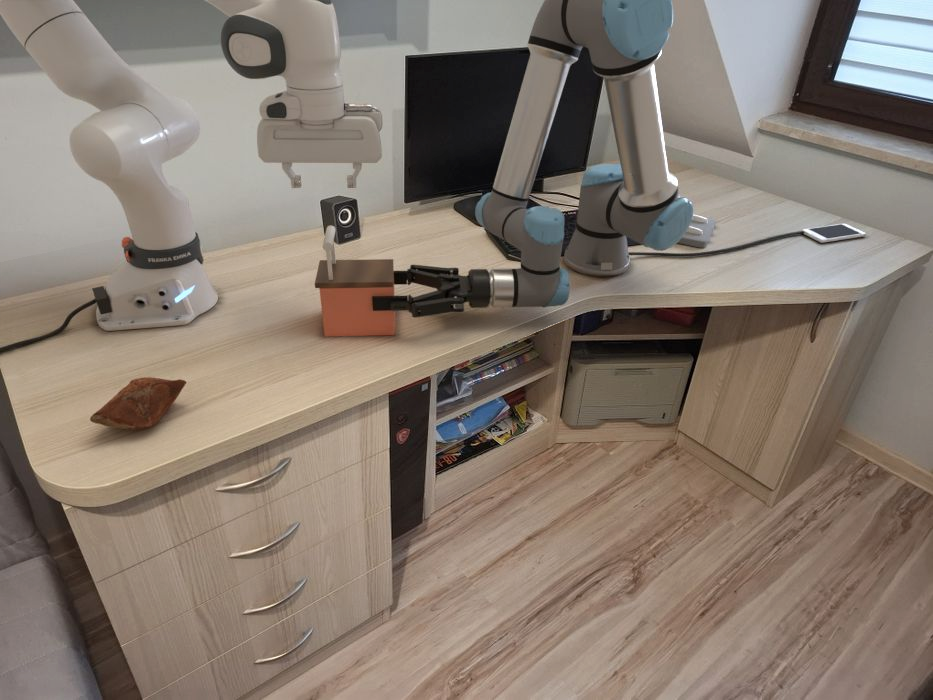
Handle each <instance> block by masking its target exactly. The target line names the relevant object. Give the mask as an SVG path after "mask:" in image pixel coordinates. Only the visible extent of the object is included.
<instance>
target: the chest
mask: <svg viewBox="0 0 933 700" xmlns="http://www.w3.org/2000/svg"><path fill="white" fill-rule="evenodd" d="M394 271H395V270H394V265H393V287H356V288H318V289H319V297H320V298H319V299H320V307H321V316H322V324H323V325H322V326H323V333H324V335H323V336H324V337H326V338H327V337H355V336H356V337H361V336H364V337H366V336H395V335H396V311H373V303H372V296H396V295H395V285H394Z"/></svg>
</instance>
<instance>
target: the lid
mask: <svg viewBox="0 0 933 700" xmlns="http://www.w3.org/2000/svg"><path fill="white" fill-rule="evenodd" d="M336 230H337V229H336V227H335V226H334V225H333V224H332V225H328V226H327V227H326V230H325V234H324V239H323V241H322V242H323V243H322V248H323V250H324V251H325V254H326V259H320V260H319V261H318V267H317V271H316V275H315V280H314V288H315V289H319V288H356V287H393V266H394V259H393V258H389V259H388V258H384V259H383V258H382V259H381V258H379V259H375V258H374V259H336V247H335V235H336Z"/></svg>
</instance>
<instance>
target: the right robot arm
mask: <svg viewBox="0 0 933 700" xmlns="http://www.w3.org/2000/svg"><path fill="white" fill-rule="evenodd" d="M673 22H674V6H673V1H672V0H544V1H543V3H542V4H541V6H540V8H539V10H538V12H537V14H536V17H535V19H534V23H533V25H532V28H531V31H530V33H529V38H528V42H527V48H528V50H529V54H530V55H529V58H528V61H527V65H526V69H525V73H524V75H523V79H522V82H521V85H520V89H519V90H520V91H519V93H518V97H517V100H516V104H515V107H514V112H513V114H512V117H511V122H510V126H509V129H508V132H507V136H506V138H505V143H504V146H503V150H502V153H501V156H500V160H499V164H498V167H497V171H496V175H495V177H494V182H493V184H492V189H491V192H487V193H485V194H484V195H482V196H481V198H480V199H479V201H478V202H476V206H475V210H474V213H475V214H474V215H475V218H476V222H477V223H478V224H479V225H480V226H481V227H483V228H484V229H485V230H486V231H487V232H488V233H490V234H492V235H494V236H496V237H498V238H500V239H501V240H503V241H504V242H506V243H507V244H509V245H510V246H512V247H514V248H515V249H517V250H519V251H520V267H519V268H491V269H490V270H487V269H486V268H478V269H477V268H476V269H475V268H473V269H472V268H471V269H469V271H468V272H467V273H468V274H467V275H461V274H460V273H459V267H440V266H432V265H421V264H410V267H409V268H407V269H406V270H394V286H397V285H398V286H399V285H407V286H410V285H411V284H416V285H420V286H425V287H428V288H432V289H436V290H434V291H431V292H427V293H424V294H420V295H417V296H412V295H411V294H408V295H395V296H372V303H373V311H395V312H397V311H400V312H401V311H402V312H403V311H407V312H409V313H410V314H411V316H412V318H422V317H427V316H435V315H441V314H447V313H464V311H465V303H468V306H469V307H470V308H471V309H487V308H488V307H489V306H490V307H491V308H500V309H504V308H540V307H541V308H549V307H550V308H551V307H558V306H563V305H565V304H566V303H567V301H568V300H569V296H570V285H571V283H570V281H571V280H570V275H569V271H568V270H567V269H565V268H564V267H560V265H561V258H562V250H563V244H564V239H565V220H566V218H565V215H564V213H563V212H562V211H561V210H560V209H558V208H555V207H550V206H548V205H536V206H532V207H530V208H527V206H528V203H529V200H530V195H531V192H532V189H533V186H534V183H535V179H536V176H537V173H538V171H539V170H538V169H539V167H540V163H541V160H542V157H543V153H544V150H545V148H546V144H547V141H548V139H549V135H550V131H551V128H552V125H553V122H554V119H555V116H556V113H557V110H558V106H559V103H560V99H561V97H562V93H563V89H564V87H565V83H566V80H567V77H568V74H569V71H570V68H571V66H572V64H575V63H576V62H577V61H579V57H580V55H581V51H582V49H583V48H586V49H588V52H589V57H590V61H591V68H592V71H593V73H594V74H595V75H597V76H599V77H601V78H603V80H604V81H603V82H604V85H605V86H604V87H605V90H606V91H605V92H606V95H607V101H608V106H609V107H608V108H609V112H610V118H611V122H612V128H613V133H614V137H615V144H616V148H617V149H616V150H617V153H618V159H619V163H601V164H596V165H592V166H589V167H588V168H586V169H585V170H584V172H583V175H582V180H581V184H580V190H579V199H578V207H577V215H576V223H575V224H576V225H575V230H574V232H573V233H572V236H571V239H570V241H569V244H568V245H567V246H566V248H565V251H564V255H563V262H564V263H565V265H566V266H567V267H568V268H570V269H571V270H572V271H575V272H576V273H579V274H582V275H586V276H591V277H601V278H602V277H607V278H608V277H615V276H618V275H621V274H623V273H625V272H626V271H627V270H628V269H629V265H630V259H631V258H630V256H656V257H657V256H659V257H697V256H706V255H713V254H720V253H724V252H725V253H726V252H729V251H735V250H739V249H743V248H747V247H750V246H754V245H757V244H758V245H759V244H761V243H766V242H769V241H771V240H776V239H779V238H780V239H781V238H784V237H789V236H796V235H802V234H803V233H804V231H802V230H799V231H793V232H787V233H782V234H778V235H774V236H770V237H765V238H763V239H759V240H755V241H752V242H748V243H744V244H740V245H735V246H732V247H731V246H730V247H727V248H722V249H716V250H715V249H714V250H709V251H702V252H690V253H689V252H685V253H684V252H683V253H682V252H679V253H677V252H675V253H673V252H662V251H666V250H669V249H671V248H672V247H674V246H675V245H676V244H678V243H677V242H678V241H679V240H680V239H681V238H682V237H683V235H684V234H685V233H686V231H687V229H688V228H689V226H690V223H691V221H692V217H693V215H694V205H693V202H691V201H690V200H689V199H688V198H687V197H682V196H681V195H680V191H679V183H678V179H677V177H676V176H675V174H673V173H672V172H670V171H669V167H668V160H667V152H666V146H665V139H664V137H665V136H664V130H663V123H662V115H661V108H660V100H659V92H658V85H657V78H656V77H657V76H656V69H655V64H656V62H657V61H658V60H659V58H660V57H661V55H662V51H663V50H662V49H663V48H664V46H665V45H666V43H667V41H668V40H669V37H670V32H669V29H671V28H672V27H673ZM803 235H804V234H803ZM627 238H628V239H631V240H632V241H634V242H636V243H638V244H639V245H642V246H643V247H645V248H649V249H652V250H654V251H657V252H648V251H647V252H644V251H643V252H639V251H636V252H635V251H629V245H628V240H627Z"/></svg>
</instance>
